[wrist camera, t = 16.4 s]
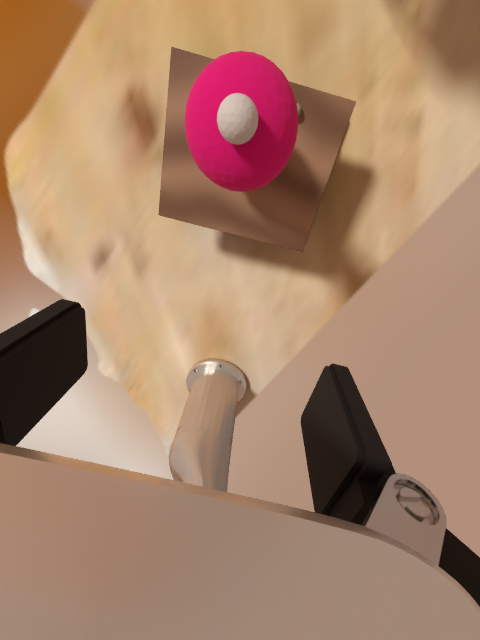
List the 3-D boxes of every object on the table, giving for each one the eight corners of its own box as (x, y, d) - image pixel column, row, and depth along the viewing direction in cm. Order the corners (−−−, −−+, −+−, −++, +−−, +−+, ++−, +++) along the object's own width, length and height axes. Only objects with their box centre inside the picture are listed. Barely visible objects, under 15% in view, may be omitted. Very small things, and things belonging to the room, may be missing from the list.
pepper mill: (285, 104, 26) (341, -28, 9) (281, 186, 30) (317, 210, 12) (212, 108, 27) (127, -9, 9) (217, 189, 30) (163, 214, 13)
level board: (300, 248, 34) (303, 254, 32) (162, 213, 33) (155, 216, 31) (351, 104, 27) (359, 99, 25) (175, 52, 26) (168, 42, 24)
